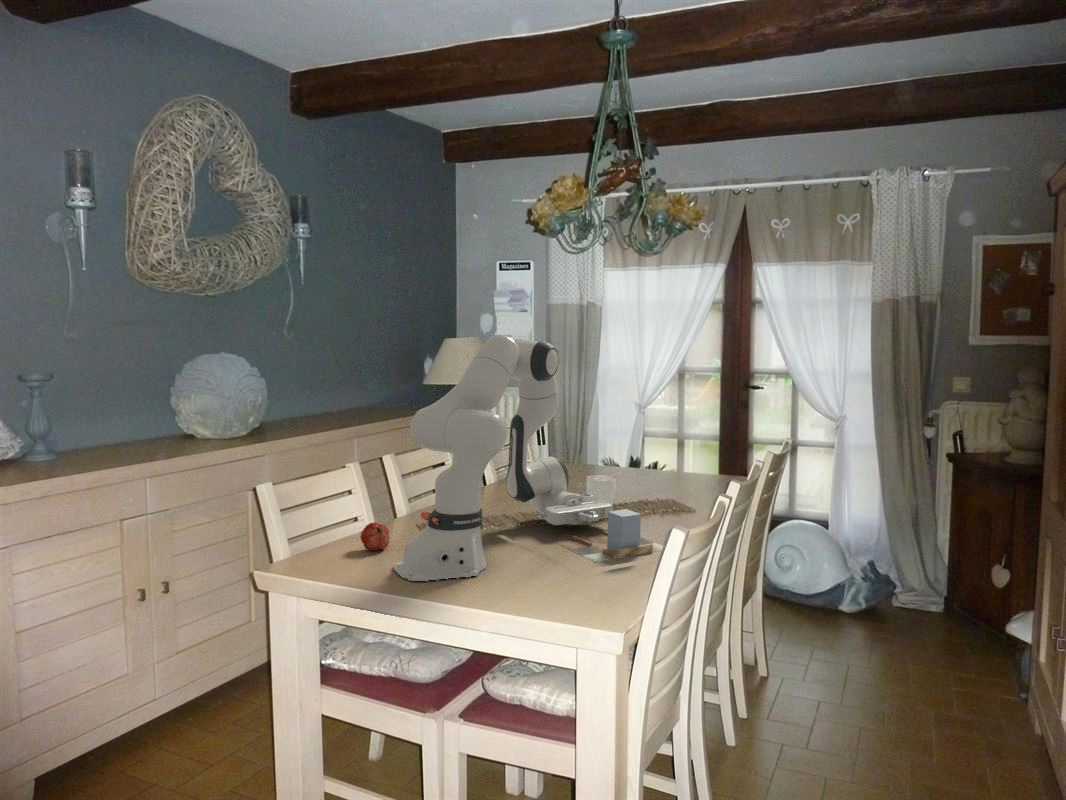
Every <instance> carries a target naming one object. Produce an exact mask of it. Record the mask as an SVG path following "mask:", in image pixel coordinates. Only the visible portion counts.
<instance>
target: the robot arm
mask: <svg viewBox="0 0 1066 800" xmlns="http://www.w3.org/2000/svg"><path fill="white" fill-rule="evenodd" d="M559 361H560V360H559V352H558V350H557V349H556V348H555V346H554V345H553V344H551V343H549V342H546V341H542V340H541V341H540V340H539V341H534V340H531V339H530V340H529V339H522V338H511V337H509V336H507V335H505V334H495V335H492V336H490V337H489V338H488V339H487V340H485V342H484V343H483V344H482V346H481V347H479V349H478V351H477V352H476V353H475V355H474V356H473V358H472V360H471V361H470V364H468V367H467V369H465V372H463V375H462V376H461V378H460V380H459V381H458V382H457V383H456V385H455V386H453V388H451V390H449V391H448V392H447V393H446V394H445V395H444V396H443V397H441V398H439V399H438V400H437V401H435V402H434V403H432V404H430V405H427V406H425V407H423V408H421V409H419V410H417V411H416V412H415V413H414V415H413V417H412V419H411V422H410V436H411V438H412V440H413V442H414V443H415V444H416V445H418V446H419V447H421V448H425V449H427V450H430V451H434V452H440V453H448V454H449V453H450V454H452V455H453V456H452V457H453V458H452V462H451V465H450V467H448V468H446V469H445V470H443V471H441V472H440V473H439V474H438V475H437V476H436V479H435V482H434V490H435V491H434V494H435V495H434V497H435V498H434V509H433V511H431V513H430V512H429V511H427V510H422V511H421V513H420V518H421V519H423V520H424V521H427V526H425V528H423V529H422V530H421V531H419V533H418V534H416V535H415V536H414V537H412V538H411V539H410V540H409V541H408V542H407V543H406V544H405V547H404V552H403V557H402V560H401V561H397V562H395V563H394V565H393V571H394V570H395V571H396V572H397V573H398V574H399V575H401V576H403V577H404V578H406V579H410V580H414V581H426V582H429V581H428V580H436V581H440V580H439V579H446V580H451V579H450V578H456V579H460V578H459V577H466V578H472V577H471V576H475V577H477V576H478V575H479V574H480V572H482V571H483V570H485V569H486V568H487V566H488V564H487V561H486V557H485V553H484V547H483V540H482V538H483V537H482V530H483V509H482V507H481V500H482V499H481V498H482V497H481V495H482V483H483V482H482V481H483V476H484V473H485V471H486V469H487V466H488V464H489V463H490V461H491V460H492V459H493V458H494V457H495V456H497V455H498V454H499V453H500V452H501V451H502V450H503V448H504V447H505V445H506V443H507V441H508V433H509V443H508V445H509V446H508V466H507V473H506V477H505V478H506V480H505V486H506V490H507V494H508V495H509V496H510V498H512V499H514V500H515V501H517V502H521V503H523V504H525V503H526V502H529V501H530V503H531V504H530V505H531V506H532V507H533V508H534V509H535V510H536V511H538V514H539V516H541V517H544V520H545V522H547V523H549V524H550V525H553V526H563V525H573V524H575V523H581V522H586V523H595V522H599V521H600V520H602V519H608V512H609V511H614V510H613V509H614V508H613V506H612V504H610V503H608V502H606V501H604V500H601V499H597V498H594V495H590V494H589V495H588V494H587V493H586V494H582V493H579V494H578V493H574V492H568V490H569V485H570V476H569V475H570V474H569V470H568V468H567V466H566V465H565V464H564V462H563V461H562V460H561V459H560V458H557V457H555V456H553V455H552V456H547V457H544V458H541V459H538V460H537V461H534V462H531V463H529V464H528V445H529V442H530V439H531V438H532V437H533V436H534V435H535V434H536V432H538V430H540V429H541V428H542V427H544V426H545V425H546V424H547V423H549V422H550V421H551V420H552V419H553V418H554V416H555V415H556V413H557V412H558V408H559V393H558V392H559V391H558V384H557V383H558V382H557V378H556V373H557V371H558V368H559V363H560V362H559ZM511 380H515V381H517V386H518V388H517V389H518V395H519V396H518V397H519V400H518V406H517V410H516V412H515V415H514V416H513V417H512V419H511V420H510V428H509V432H508V427H507V424H506V421H505V420H504V419H503V417H502V416H500V415H498V414H496V413H492V412H490V411H491V410H493V409H494V408H496V406H497V405H499V403H500V402H501V400H502V397H503V395H504V393H505V391H506V389H507V388H508V386H509V384H510V382H511ZM395 571H394V572H395ZM396 572H395V573H396ZM398 574H397V575H398ZM399 575H398V576H399ZM404 578H403V579H404ZM448 578H449V579H448ZM406 579H405V580H406ZM437 579H438V580H437Z"/></svg>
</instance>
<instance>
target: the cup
mask: <svg viewBox="0 0 1066 800" xmlns="http://www.w3.org/2000/svg"><path fill="white" fill-rule="evenodd" d="M585 487H586V488H585V489H586V494H588V495H589V494H590V495H594V498H597V499H601V500H604V501H606V502H608V503H610V504H612V507H613V506H614V498H615V494H616V493H615V492H616V478H615V477H614V476H612V475H605V474H604V475H603V474H593V475H588V476H586V486H585Z"/></svg>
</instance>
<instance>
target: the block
mask: <svg viewBox="0 0 1066 800" xmlns="http://www.w3.org/2000/svg"><path fill="white" fill-rule="evenodd" d="M641 517H642V514H641V513H639V512H636V511H633V510H631V509H628V508H624V509H617V510H613V511H609V512H608V518H607V531H608V539H607V549H608V550H610V551H613V552H614V550H618V549H624V548H630V547H636V546H640V537H641V527H642V526H641V525H642V524H641V523H642V522H641V521H642V518H641Z"/></svg>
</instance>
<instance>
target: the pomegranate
mask: <svg viewBox="0 0 1066 800" xmlns="http://www.w3.org/2000/svg"><path fill="white" fill-rule="evenodd" d="M389 533H390V531H389V528H388V526H387V525H385V524H380V523H378V522H370V523H369V524H367V525H365V527H364V528H363V529H362V531H361V533H360V541H361V543H363V546H364V548H365V549H367V550H368V551H371V550H374V551H379V550H380V549H382V550H385V549H386V548H387V547H388V546H389V543H390V534H389Z"/></svg>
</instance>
